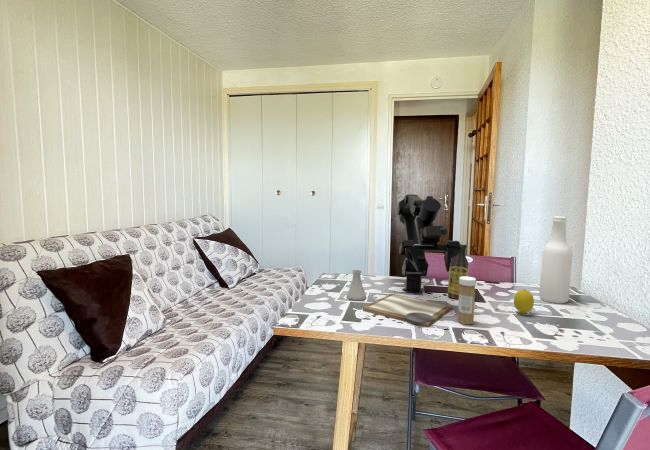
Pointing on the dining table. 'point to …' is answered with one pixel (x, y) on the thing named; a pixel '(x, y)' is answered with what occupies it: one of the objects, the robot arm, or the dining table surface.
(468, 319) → the sprinkles bottle
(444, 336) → the dining table surface
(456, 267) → the sauce bottle
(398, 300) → the beige tray
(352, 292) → the flask
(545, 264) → the alcohol
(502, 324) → the dining table surface
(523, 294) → the lemon
